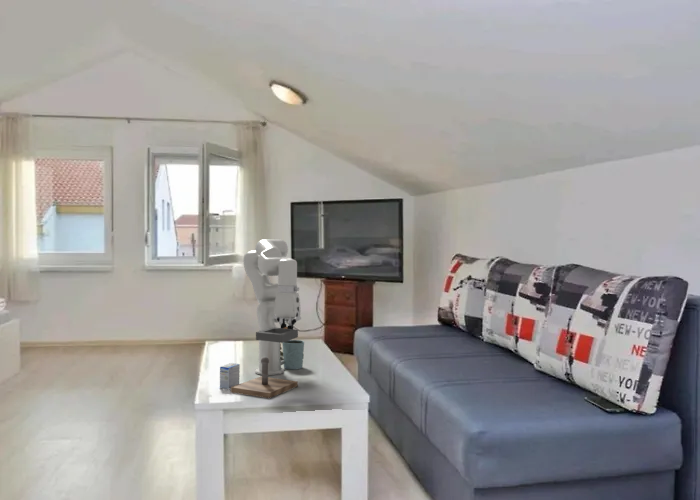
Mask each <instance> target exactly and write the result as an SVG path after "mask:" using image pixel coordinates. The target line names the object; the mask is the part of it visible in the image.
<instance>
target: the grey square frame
mask: <svg viewBox="0 0 700 500" xmlns="http://www.w3.org/2000/svg"><path fill="white" fill-rule="evenodd" d="M297 338H299V330H298V329H294V328H293V329H287V326H286V327H285V328H281V327H277V328H275V327H271V328H268V329H265V330H262V331H259V330H258V331H256V332H255V340H256V341H259V340H261V341H270V342H279V343H280V344H282V343H283V342H286V341H289V340H295V339H297Z"/></svg>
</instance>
